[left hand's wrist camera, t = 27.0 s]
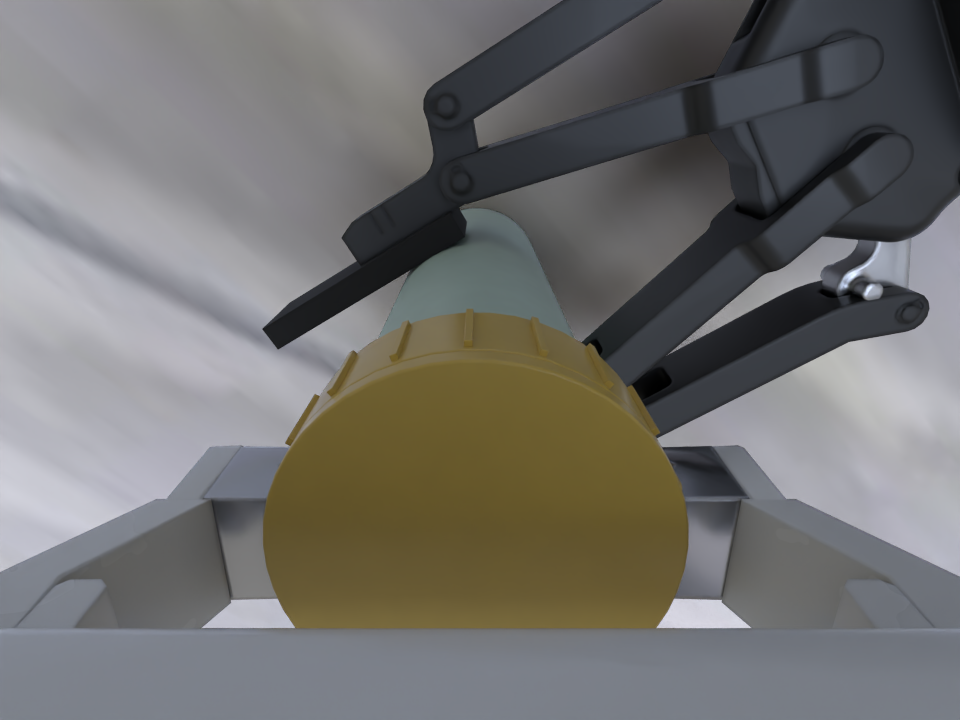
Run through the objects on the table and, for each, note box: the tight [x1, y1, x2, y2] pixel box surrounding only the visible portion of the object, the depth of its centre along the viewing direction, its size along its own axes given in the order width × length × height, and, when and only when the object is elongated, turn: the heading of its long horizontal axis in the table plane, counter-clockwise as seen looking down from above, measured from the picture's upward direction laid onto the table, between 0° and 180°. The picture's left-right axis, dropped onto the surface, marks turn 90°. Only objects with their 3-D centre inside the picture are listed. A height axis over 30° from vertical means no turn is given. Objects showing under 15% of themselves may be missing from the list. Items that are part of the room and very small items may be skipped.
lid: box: [263, 309, 689, 628], centre depth 9 cm, size 6×6×2 cm
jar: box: [379, 208, 575, 339], centre depth 17 cm, size 5×5×17 cm
